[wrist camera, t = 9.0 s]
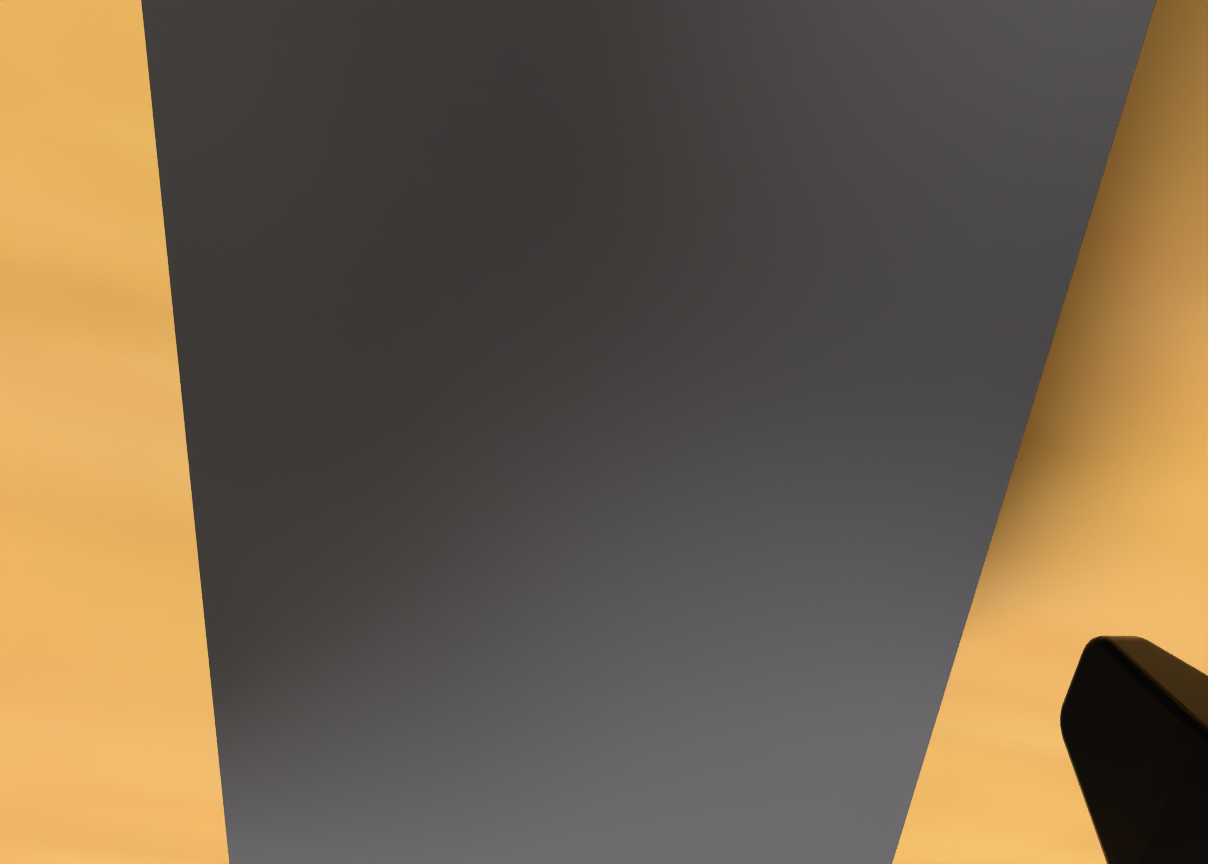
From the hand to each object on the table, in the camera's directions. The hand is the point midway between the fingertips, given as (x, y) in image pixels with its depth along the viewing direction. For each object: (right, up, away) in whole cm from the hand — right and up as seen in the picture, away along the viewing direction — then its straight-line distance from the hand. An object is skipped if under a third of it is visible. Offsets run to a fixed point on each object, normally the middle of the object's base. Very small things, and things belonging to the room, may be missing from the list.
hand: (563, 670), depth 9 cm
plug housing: (0, +2, +4) cm, 5 cm away
